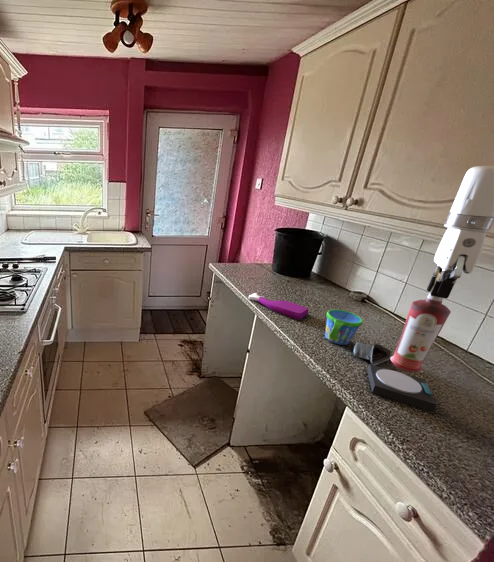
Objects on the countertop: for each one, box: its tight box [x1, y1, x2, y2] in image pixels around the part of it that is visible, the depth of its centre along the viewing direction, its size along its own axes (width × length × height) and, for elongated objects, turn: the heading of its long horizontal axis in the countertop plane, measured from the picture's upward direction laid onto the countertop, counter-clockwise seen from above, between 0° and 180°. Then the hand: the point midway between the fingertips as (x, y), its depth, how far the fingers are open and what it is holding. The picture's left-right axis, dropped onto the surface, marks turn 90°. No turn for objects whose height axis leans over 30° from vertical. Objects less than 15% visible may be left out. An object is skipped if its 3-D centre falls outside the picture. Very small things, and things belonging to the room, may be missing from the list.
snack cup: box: [324, 308, 364, 346], centre depth 112 cm, size 16×11×10 cm
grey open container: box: [353, 341, 393, 366], centre depth 104 cm, size 10×7×12 cm
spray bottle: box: [248, 292, 309, 320], centre depth 139 cm, size 3×11×24 cm
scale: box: [366, 363, 437, 413], centre depth 89 cm, size 13×12×3 cm
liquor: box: [389, 272, 452, 373], centre depth 82 cm, size 7×7×28 cm
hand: (436, 293), depth 79 cm, fingers closed on liquor, 2 cm apart
